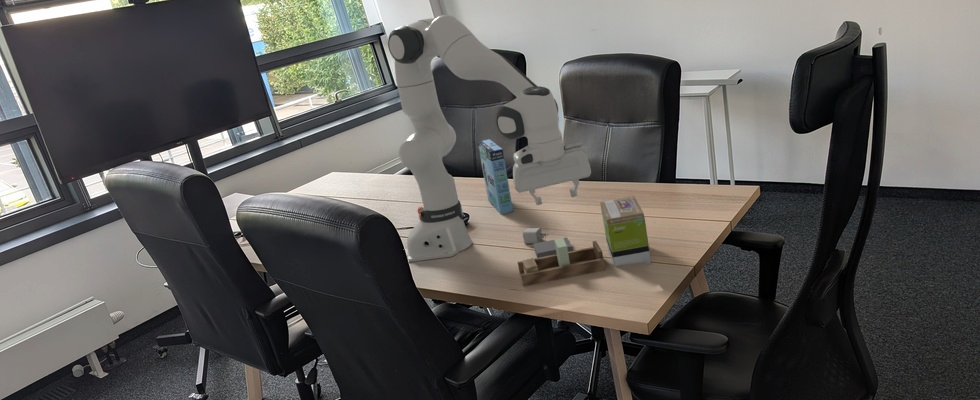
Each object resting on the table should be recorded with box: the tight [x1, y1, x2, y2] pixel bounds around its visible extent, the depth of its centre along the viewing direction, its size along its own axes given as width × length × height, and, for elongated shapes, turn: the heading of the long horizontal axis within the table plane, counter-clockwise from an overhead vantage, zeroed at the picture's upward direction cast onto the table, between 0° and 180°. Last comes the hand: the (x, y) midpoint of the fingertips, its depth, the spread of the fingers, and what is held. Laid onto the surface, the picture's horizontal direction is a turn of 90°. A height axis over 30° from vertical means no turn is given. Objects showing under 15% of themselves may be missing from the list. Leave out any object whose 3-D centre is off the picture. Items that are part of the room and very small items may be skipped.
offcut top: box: [521, 257, 538, 273], centre depth 199 cm, size 3×6×2 cm, turn 7°
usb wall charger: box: [522, 227, 549, 245], centre depth 227 cm, size 4×7×4 cm, turn 64°
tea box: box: [600, 195, 652, 267], centre depth 202 cm, size 15×10×15 cm
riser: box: [533, 236, 573, 258], centre depth 214 cm, size 10×8×3 cm
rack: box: [517, 240, 606, 287], centre depth 200 cm, size 22×10×6 cm, turn 93°
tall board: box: [553, 237, 570, 267], centre depth 199 cm, size 2×7×8 cm, turn 3°
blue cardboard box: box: [477, 138, 514, 215], centre depth 265 cm, size 20×5×23 cm, turn 12°
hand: (556, 200), depth 196 cm, fingers open, 8 cm apart
